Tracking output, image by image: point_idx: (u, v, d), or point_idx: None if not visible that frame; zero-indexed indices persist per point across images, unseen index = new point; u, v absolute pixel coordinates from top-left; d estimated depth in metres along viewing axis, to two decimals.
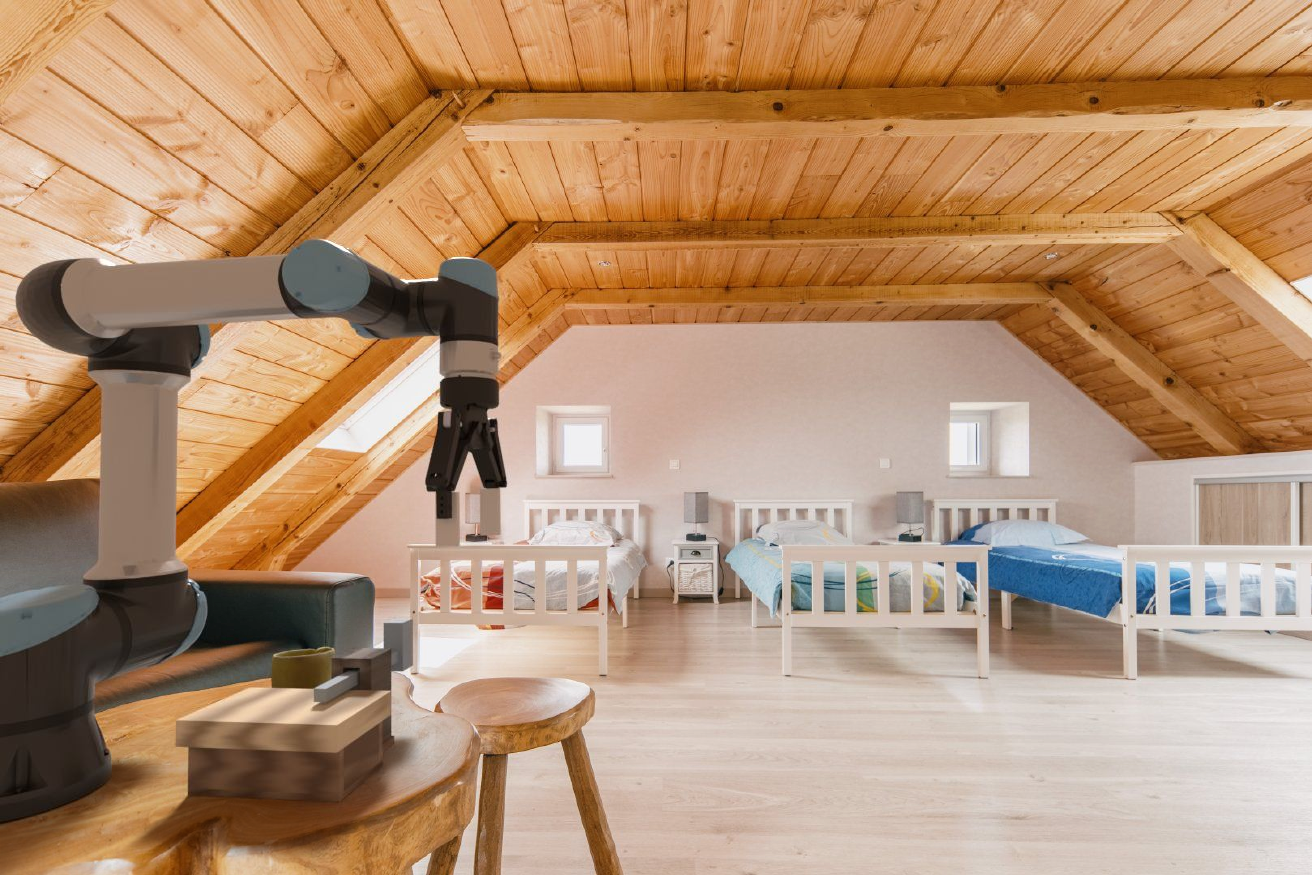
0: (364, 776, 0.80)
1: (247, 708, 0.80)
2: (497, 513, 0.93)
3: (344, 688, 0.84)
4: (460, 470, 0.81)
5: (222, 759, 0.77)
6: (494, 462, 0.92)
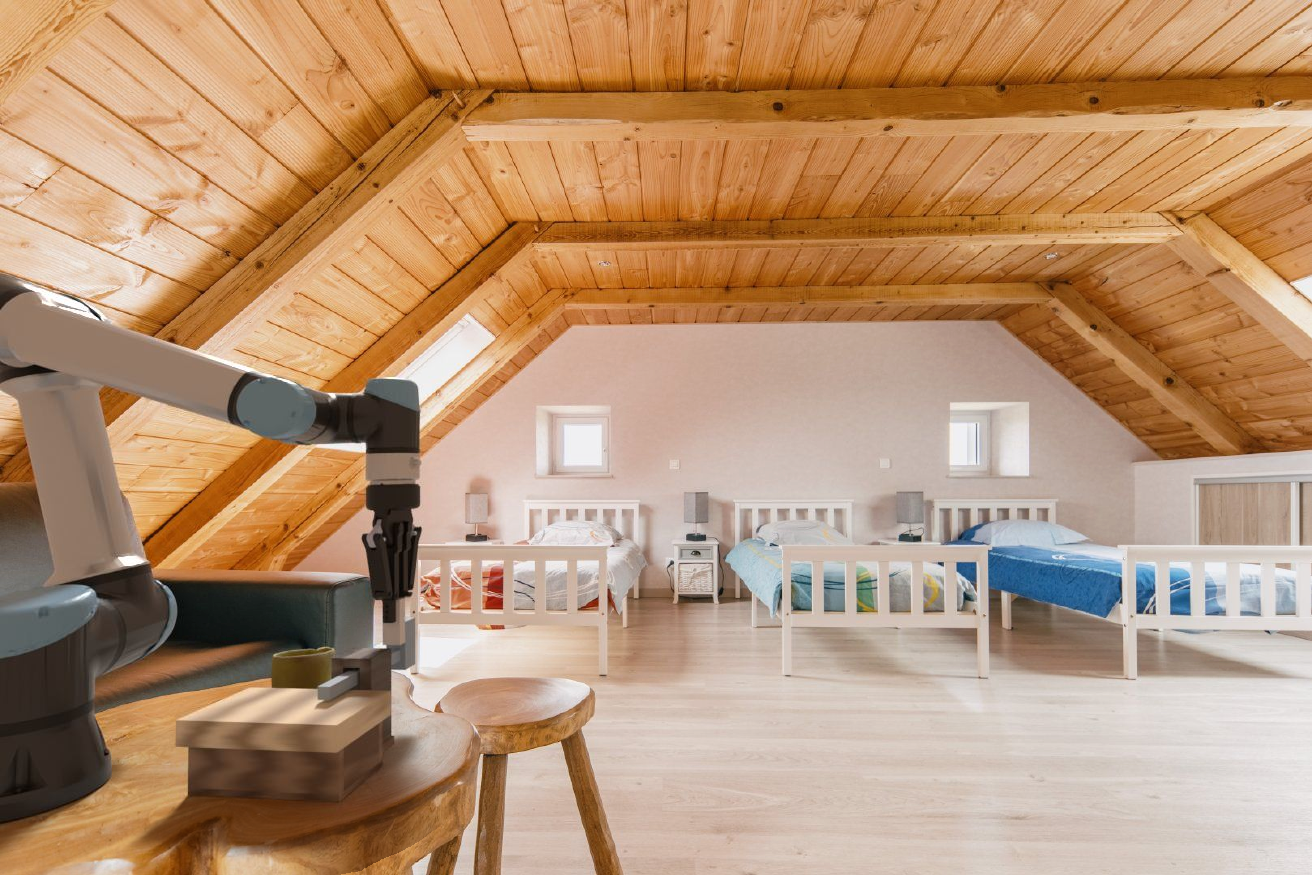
0: (364, 776, 0.80)
1: (247, 708, 0.80)
2: (401, 623, 0.97)
3: (347, 686, 0.85)
4: (397, 576, 0.96)
5: (222, 759, 0.77)
6: (406, 567, 0.99)
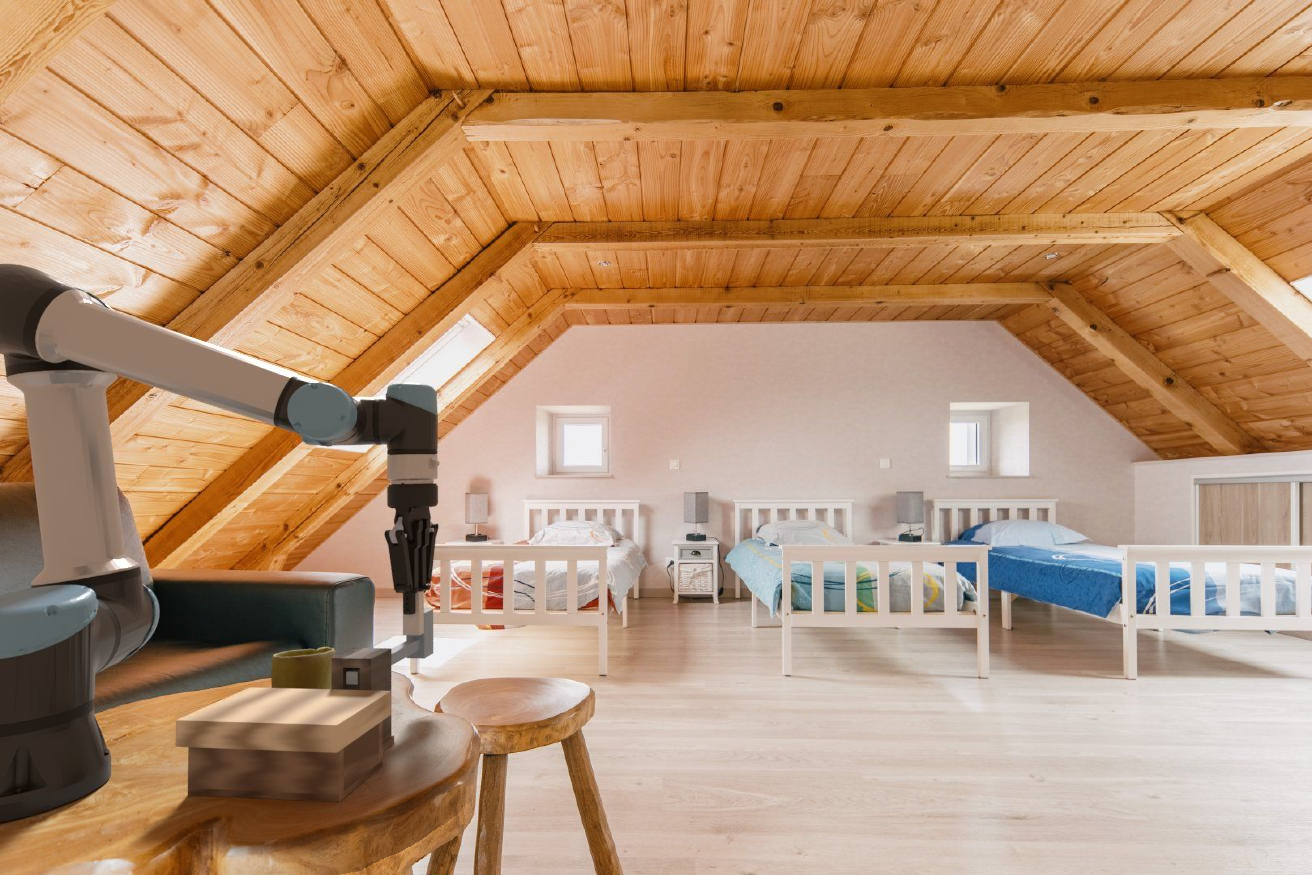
0: (364, 776, 0.80)
1: (247, 708, 0.80)
2: (420, 614, 1.03)
3: None
4: (417, 570, 1.02)
5: (222, 759, 0.77)
6: (424, 562, 1.05)
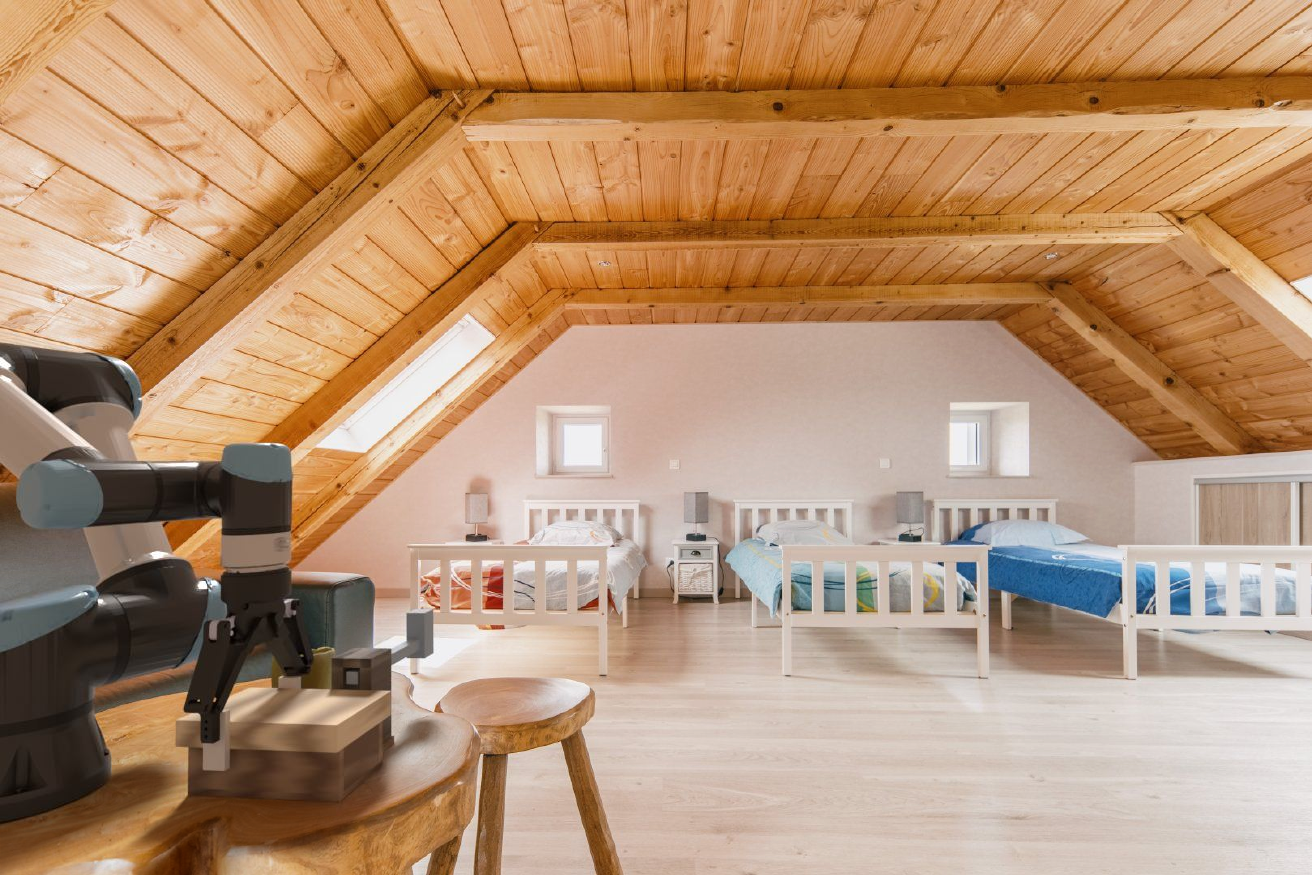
0: (364, 776, 0.80)
1: (247, 708, 0.80)
2: None
3: None
4: (232, 683, 0.76)
5: None
6: (292, 649, 0.86)
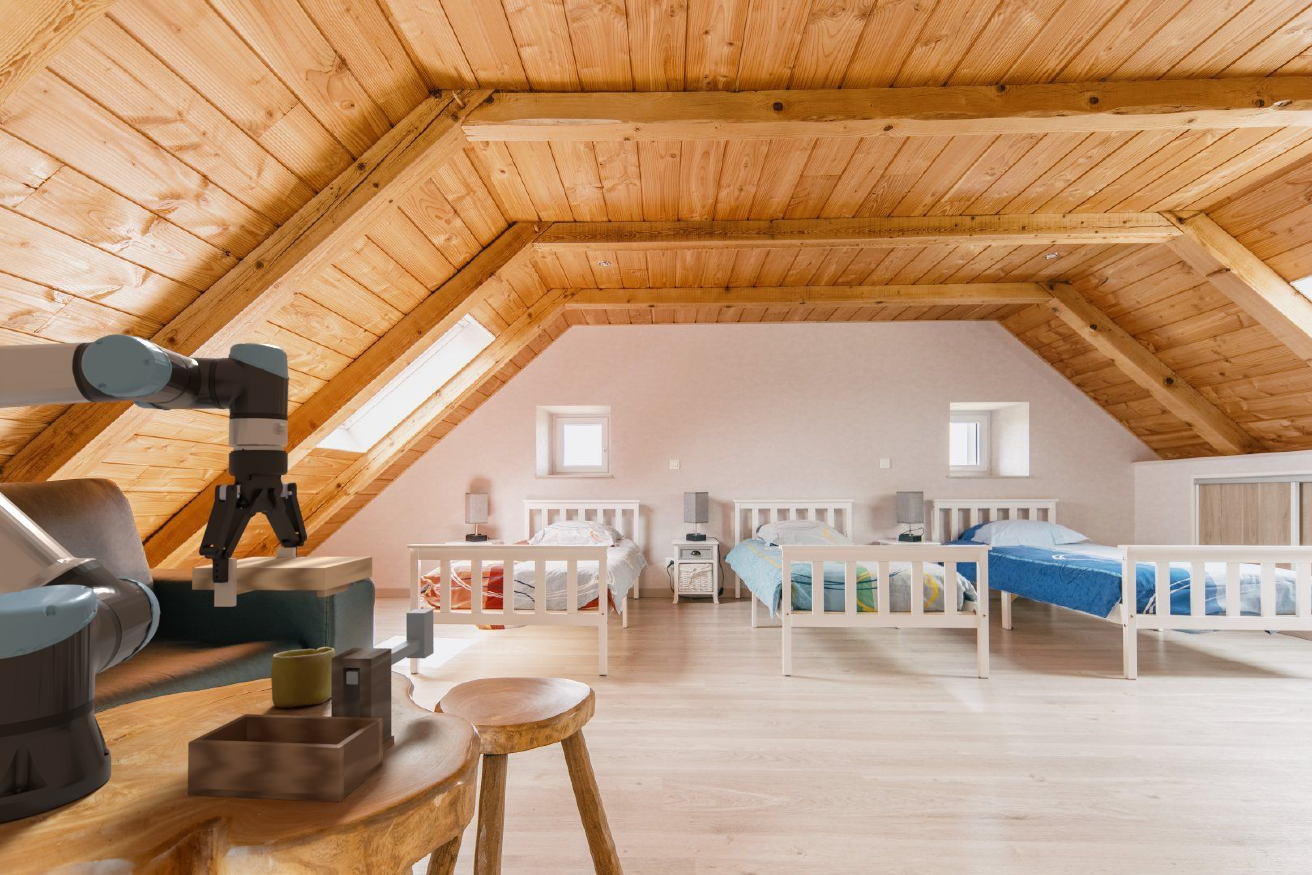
0: (364, 776, 0.80)
1: (251, 563, 0.96)
2: None
3: None
4: (238, 537, 0.92)
5: (222, 759, 0.77)
6: (289, 523, 1.02)
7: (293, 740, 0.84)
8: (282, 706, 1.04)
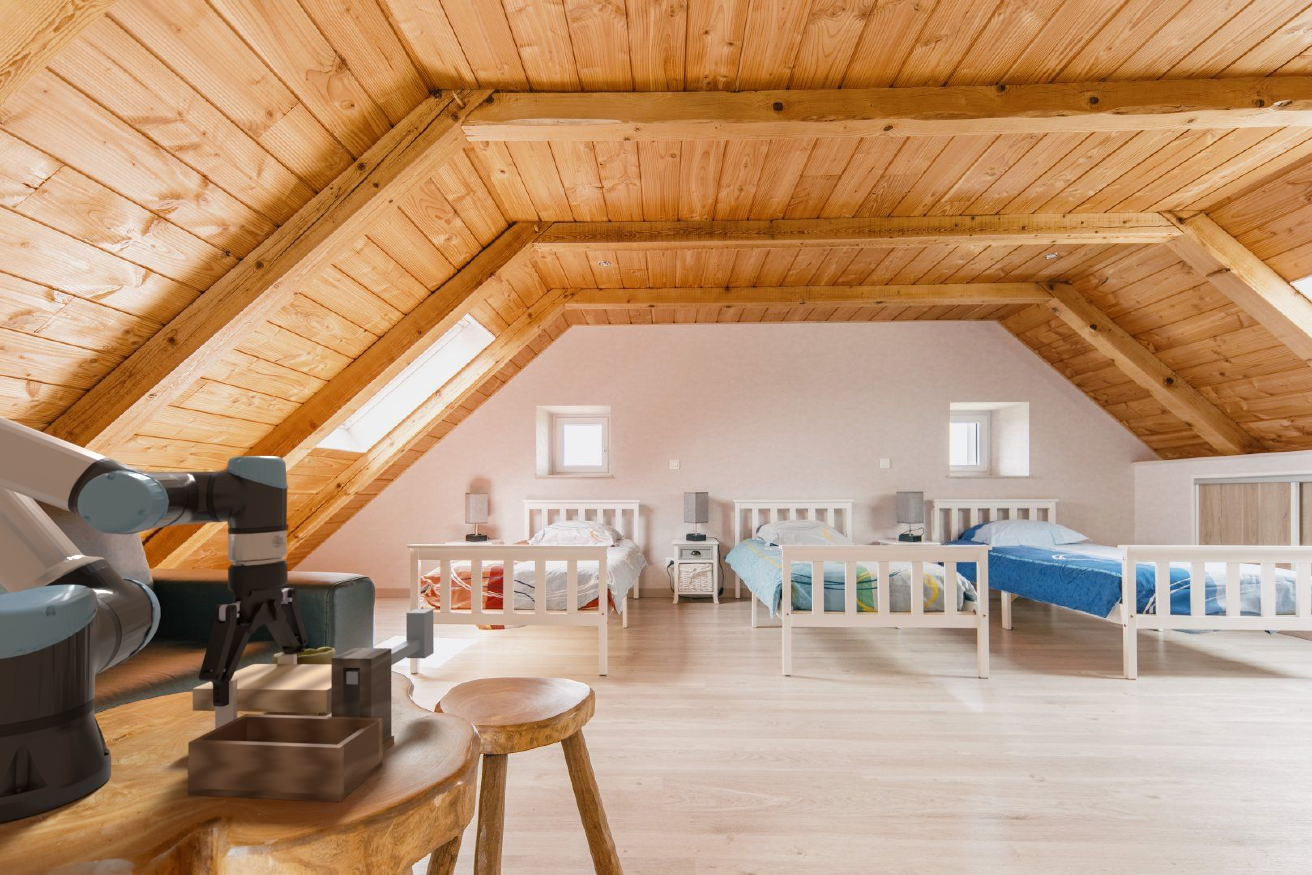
0: (364, 776, 0.80)
1: (251, 679, 0.95)
2: None
3: None
4: (239, 657, 0.91)
5: (222, 759, 0.77)
6: (289, 631, 1.02)
7: (293, 740, 0.84)
8: None
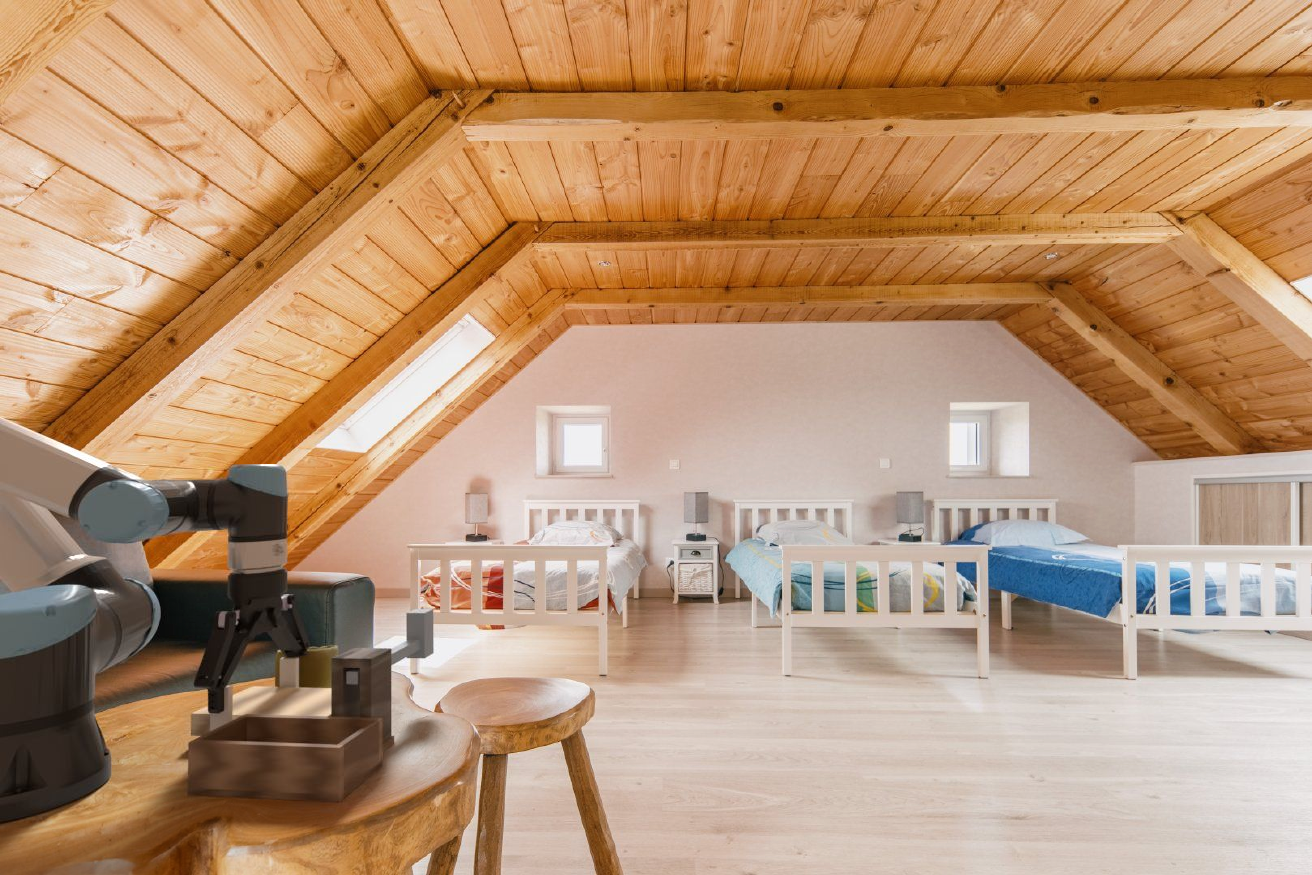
0: (364, 776, 0.80)
1: (250, 703, 0.95)
2: (295, 682, 1.02)
3: None
4: (235, 664, 0.91)
5: (222, 759, 0.77)
6: (290, 636, 1.02)
7: (293, 740, 0.84)
8: None
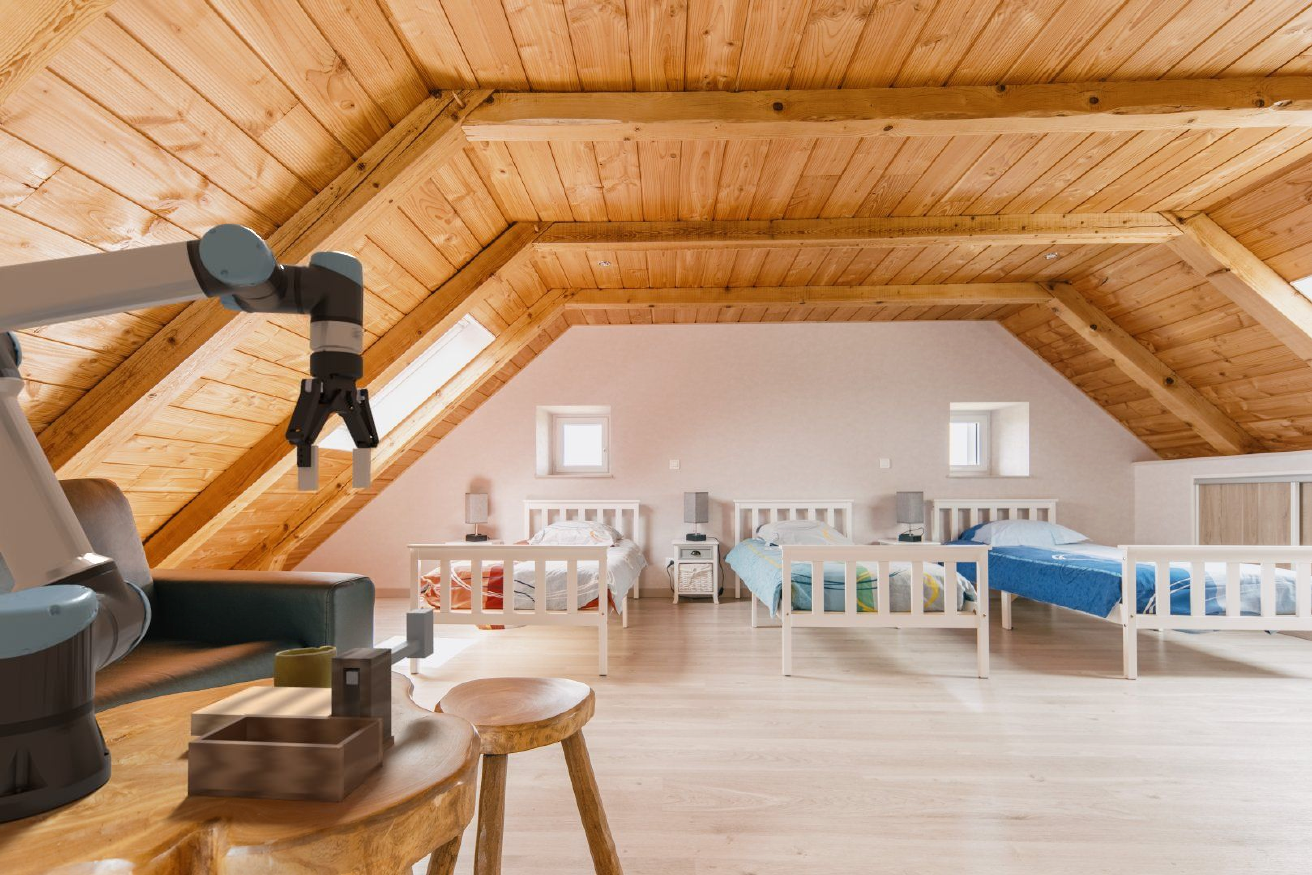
0: (364, 776, 0.80)
1: (250, 703, 0.95)
2: (367, 469, 1.09)
3: None
4: (320, 428, 0.97)
5: (222, 759, 0.77)
6: (363, 425, 1.08)
7: (293, 740, 0.84)
8: None
